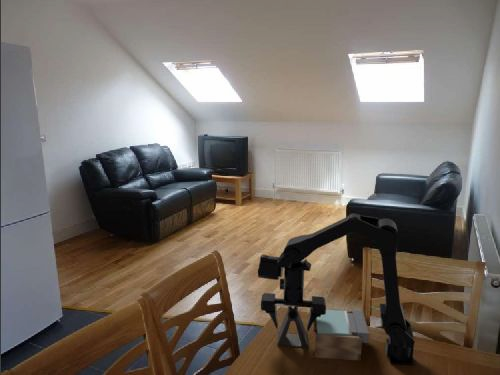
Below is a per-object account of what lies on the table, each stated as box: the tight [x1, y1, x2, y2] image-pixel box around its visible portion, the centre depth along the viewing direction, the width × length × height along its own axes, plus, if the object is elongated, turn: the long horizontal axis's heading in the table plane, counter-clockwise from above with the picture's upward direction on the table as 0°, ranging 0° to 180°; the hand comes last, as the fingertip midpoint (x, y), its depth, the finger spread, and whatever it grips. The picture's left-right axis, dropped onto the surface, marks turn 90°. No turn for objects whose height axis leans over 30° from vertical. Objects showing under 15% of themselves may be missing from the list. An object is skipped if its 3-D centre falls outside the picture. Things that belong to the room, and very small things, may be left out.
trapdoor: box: [316, 309, 370, 344], centre depth 114 cm, size 14×12×3 cm
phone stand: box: [276, 306, 309, 349], centre depth 116 cm, size 9×6×12 cm, turn 83°
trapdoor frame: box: [313, 308, 363, 361], centre depth 115 cm, size 12×14×7 cm
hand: (292, 329), depth 117 cm, fingers open, 9 cm apart
